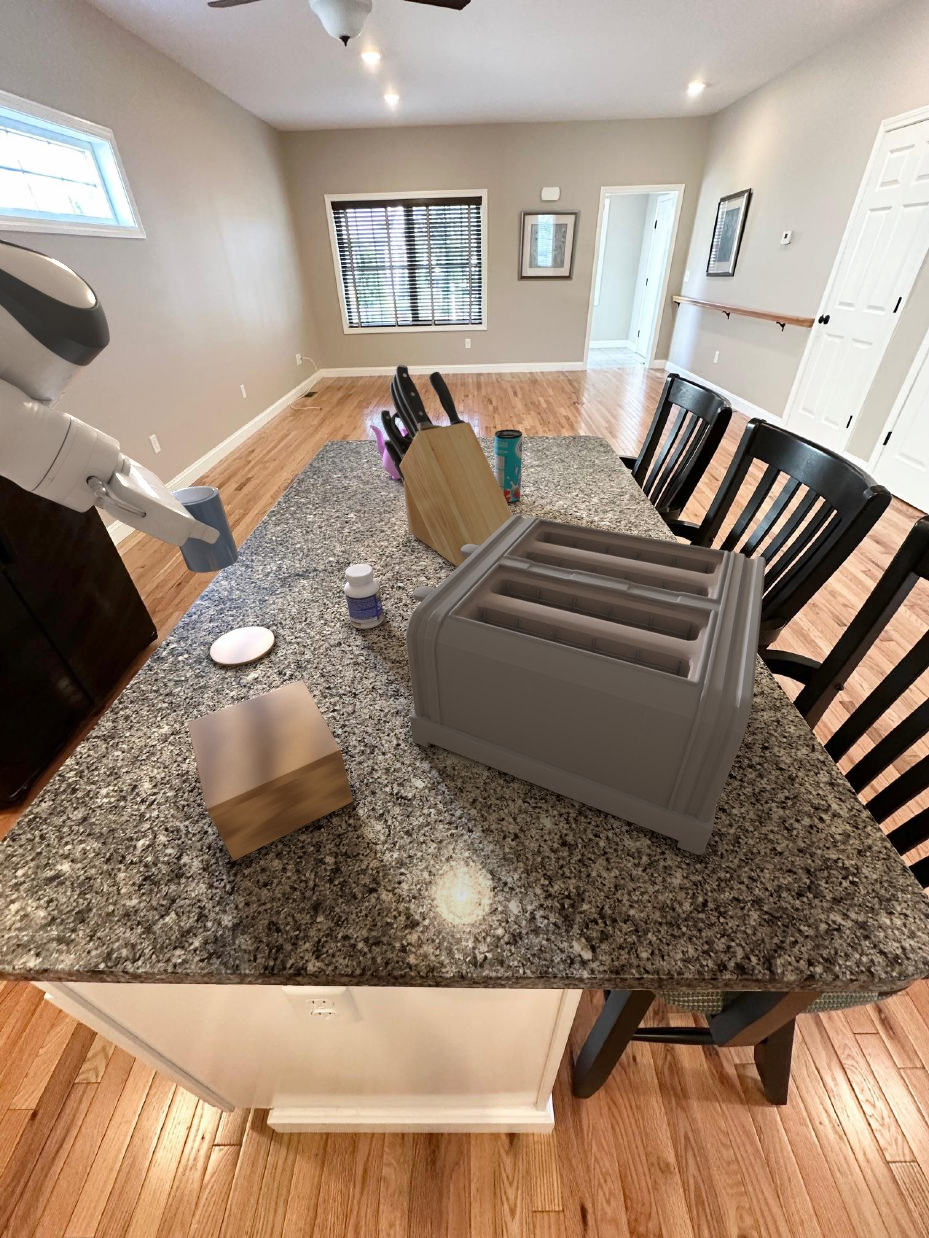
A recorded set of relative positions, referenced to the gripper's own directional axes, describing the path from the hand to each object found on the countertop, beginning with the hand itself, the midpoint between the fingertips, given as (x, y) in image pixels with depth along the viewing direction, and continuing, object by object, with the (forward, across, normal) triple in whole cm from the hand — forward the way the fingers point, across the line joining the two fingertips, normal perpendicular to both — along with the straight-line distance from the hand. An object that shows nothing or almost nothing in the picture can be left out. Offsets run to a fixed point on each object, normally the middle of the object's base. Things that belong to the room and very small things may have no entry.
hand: (206, 526), depth 65 cm
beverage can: (+60, +15, -33) cm, 70 cm away
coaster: (+13, 0, +14) cm, 19 cm away
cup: (+3, 0, +4) cm, 5 cm away
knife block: (+44, +7, -17) cm, 48 cm away
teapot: (+55, +45, -28) cm, 76 cm away
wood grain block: (+9, -28, +18) cm, 34 cm away
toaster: (+33, -38, -6) cm, 51 cm away
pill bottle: (+25, -6, +2) cm, 26 cm away
